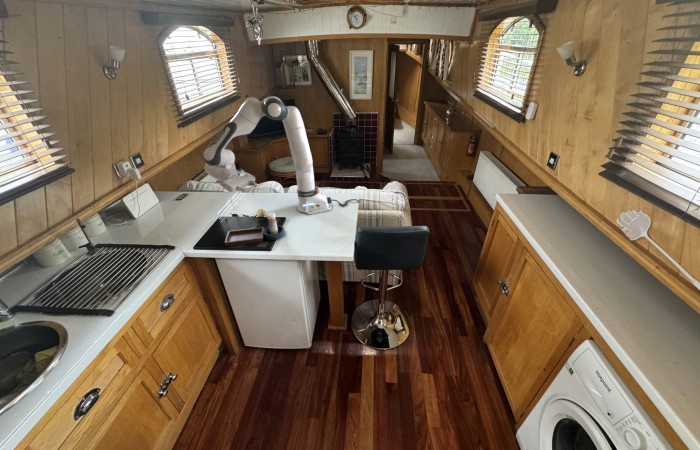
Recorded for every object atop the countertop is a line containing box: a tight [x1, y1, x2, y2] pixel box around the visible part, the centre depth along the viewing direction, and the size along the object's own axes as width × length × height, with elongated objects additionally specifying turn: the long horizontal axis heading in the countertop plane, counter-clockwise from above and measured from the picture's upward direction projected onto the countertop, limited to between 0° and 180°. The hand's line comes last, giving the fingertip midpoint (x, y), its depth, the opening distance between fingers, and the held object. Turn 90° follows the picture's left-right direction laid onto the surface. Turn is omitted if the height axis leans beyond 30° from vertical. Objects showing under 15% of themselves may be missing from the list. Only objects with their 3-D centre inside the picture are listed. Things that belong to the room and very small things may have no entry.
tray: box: [224, 226, 266, 247], centre depth 159 cm, size 20×12×2 cm, turn 100°
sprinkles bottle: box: [266, 212, 279, 235], centre depth 159 cm, size 5×5×13 cm
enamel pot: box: [264, 224, 285, 241], centre depth 162 cm, size 11×14×3 cm
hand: (251, 188), depth 157 cm, fingers open, 8 cm apart
